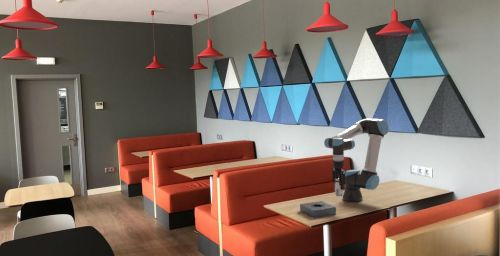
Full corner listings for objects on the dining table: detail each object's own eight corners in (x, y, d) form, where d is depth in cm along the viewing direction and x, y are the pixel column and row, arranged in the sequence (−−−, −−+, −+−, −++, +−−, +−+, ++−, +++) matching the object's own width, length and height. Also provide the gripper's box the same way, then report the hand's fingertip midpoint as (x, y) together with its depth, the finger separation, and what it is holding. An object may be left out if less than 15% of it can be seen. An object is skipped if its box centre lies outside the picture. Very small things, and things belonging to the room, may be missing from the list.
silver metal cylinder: (339, 194, 289) (339, 177, 288) (343, 195, 285) (343, 178, 283) (334, 195, 287) (333, 178, 286) (338, 196, 283) (337, 179, 281)
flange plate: (321, 207, 297) (321, 201, 297) (336, 214, 281) (335, 207, 280) (300, 211, 290) (300, 204, 290) (313, 217, 274) (313, 210, 274)
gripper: (326, 159, 290) (327, 191, 292) (341, 162, 274) (342, 196, 276) (335, 157, 293) (336, 189, 295) (350, 161, 277) (351, 195, 279)
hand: (339, 193), depth 286 cm, fingers closed on silver metal cylinder, 5 cm apart
